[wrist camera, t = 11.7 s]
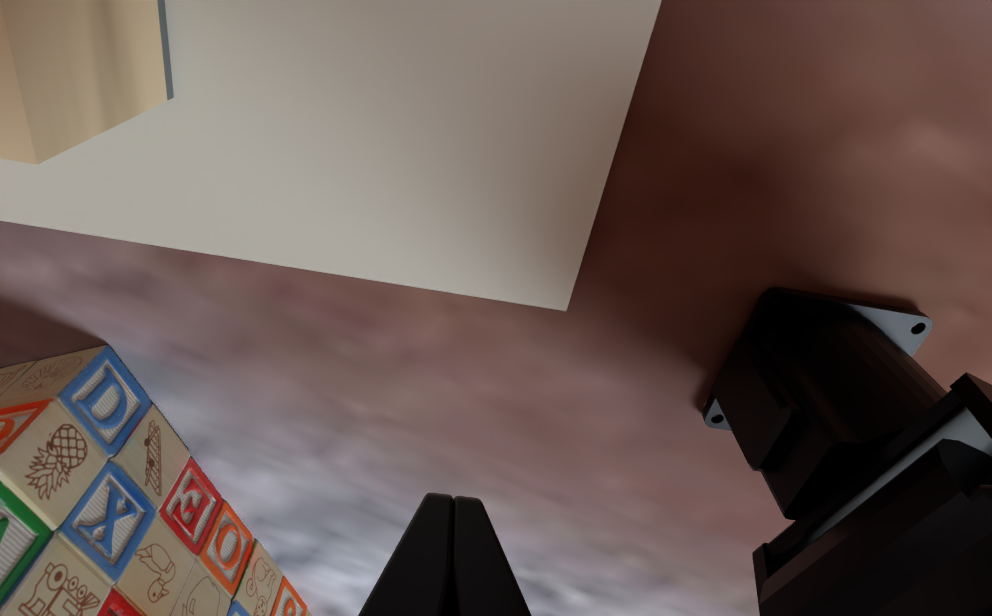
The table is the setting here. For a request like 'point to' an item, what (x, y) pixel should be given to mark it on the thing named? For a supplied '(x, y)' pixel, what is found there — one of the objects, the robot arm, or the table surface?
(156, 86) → the beech block
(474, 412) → the table surface
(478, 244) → the rubber mat
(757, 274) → the table surface
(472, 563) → the robot arm
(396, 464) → the table surface
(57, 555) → the stack of blocks
